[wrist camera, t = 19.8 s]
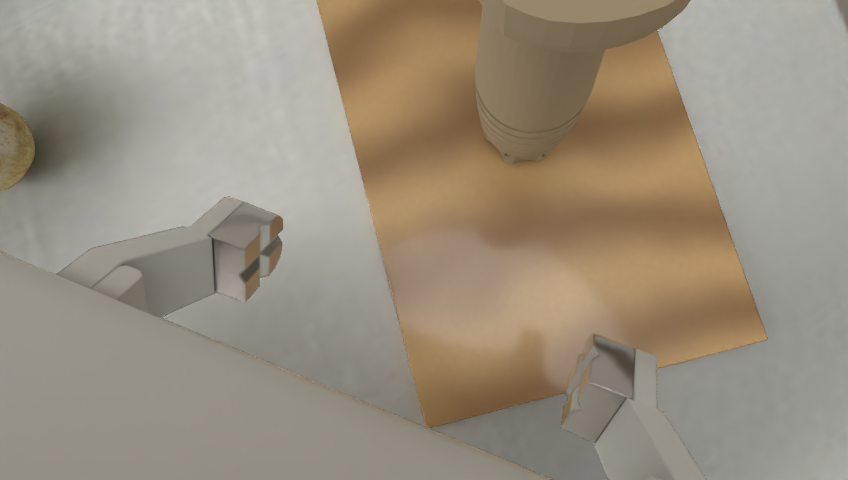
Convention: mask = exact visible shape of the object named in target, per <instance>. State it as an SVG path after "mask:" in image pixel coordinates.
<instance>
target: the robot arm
mask: <svg viewBox="0 0 848 480" xmlns="http://www.w3.org/2000/svg"><path fill="white" fill-rule="evenodd" d="M282 230H283V219H282V218H281V217H280V216H279V215H276V214H274V213H271V212H269V211H266V210H264V209H261V208H259V207H256V206H254V205H251V204H249V203H245V202H243V201H240V200H238V199H235V198H233V197H230V196H228V197H224V198H223V199H222V200H220V201H219V202H218V203H217V204H216V205H215V206H213V207H212V208H211V209H210V210H209V211H208V212H206V213H205V214H204V215H203V216H202V217H201V218H199V219H198V220H197V221H196V222H195V223H194V224H192V225H191V226H190V227H189V228H186V227H183V226H182V227H178V228H174V229H170V230H166V231H162V232H157V233H153V234H149V235H145V236H141V237H137V238H132V239H128V240H124V241H120V242H116V243H112V244H107V245H103V246H99V247H95V248H91V249H89V250H88V251H87V252H85V253H84V254H83V255H81V256H80V257H78V258H77V259H76V260H74V261H73V262H72V263H70V264H69V265H68V266H66V267H65V268H64V269H62V270H61V271H60V272H58V273H57V274H56V275H55V274H53V273H51V272H48V271H46V270H43V269H41V268H38V267H36V266H34V265H31V264H29V263H26V262H24V261H21V260H19V259H17V258H14V257H12V256H9V255H7V254H4V253H2V252H0V480H553V479H551V478H548V477H546V476H543V475H541V474H538V473H536V472H533V471H531V470H529V469H526V468H524V467H521V466H519V465H516V464H514V463H512V462H509V461H507V460H504V459H502V458H499V457H497V456H494V455H492V454H490V453H487V452H485V451H482V450H480V449H478V448H475V447H473V446H470V445H468V444H465V443H463V442H461V441H458V440H456V439H453V438H451V437H449V436H446V435H444V434H441V433H439V432H436V431H434V430H432V429H429V428H427V427H424V426H422V425H419V424H417V423H415V422H412V421H410V420H407V419H405V418H403V417H400V416H398V415H395V414H393V413H390V412H388V411H386V410H383V409H381V408H378V407H376V406H373V405H371V404H369V403H366V402H364V401H361V400H359V399H356V398H354V397H352V396H349V395H347V394H344V393H342V392H339V391H337V390H335V389H332V388H330V387H327V386H325V385H322V384H320V383H318V382H315V381H313V380H310V379H308V378H305V377H303V376H301V375H298V374H296V373H293V372H291V371H288V370H286V369H283V368H281V367H279V366H276V365H274V364H271V363H269V362H267V361H264V360H262V359H259V358H257V357H254V356H252V355H250V354H247V353H245V352H242V351H240V350H237V349H235V348H233V347H230V346H228V345H225V344H223V343H220V342H218V341H216V340H213V339H211V338H208V337H206V336H203V335H201V334H199V333H196V332H194V331H191V330H189V329H186V328H184V327H182V326H179V325H177V324H174V323H172V322H169V321H167V320H165V319H162V318H160V317H162V316H164V315H167V314H169V313H171V312H173V311H176V310H178V309H180V308H183V307H185V306H187V305H189V304H192V303H194V302H196V301H199V300H201V299H203V298H205V297H208V296H210V295H212V294H215V292H217V293H220V294H223V295H225V296H228V297H231V298H234V299H236V300H239V301H242V302H244V303H245V302H246V301H247V300H248V299H249V298H250V297H251V295H252V294H253V293H254V292H255V291H256V290H257V289H258V287H259V282H260V278H263V277H266V276H269V275H270V273H271V272H272V271H273V270H274V269H275V267H276V265H277V263H278V261H279V259H280V255H281V251H282V241H281V240H280V238H279V236H278V234H279V233H280V232H281V231H282ZM566 392H567V394H568V396H569V398H568V400H567V401H566V403H565V405H564V407H563V414H562V421H561V427H560V429H562V430H565V431H567V432H569V433H572V434H574V435H576V436H579V437H581V438H583V439H586V440H588V441H590V442H593V443H595V444H594V446H595V448H596V451H597V453H598V456H599V458H600V461H601V463H602V466H603V468H604V471H605V473H606V476H607V478H608V480H707V479H706V478H705V476H704V474H703V473H702V471H701V470H700V468H699V467H698V465H697V464H696V462H695V460H694V459H693V457H692V456H691V454H690V453H689V451H688V450H687V448H686V446H685V445H684V443H683V442H682V440H681V439H680V437H679V435H678V434H677V432H676V431H675V429H674V428H673V426H672V425H671V423H670V421H669V420H668V418H667V417H666V415H665V414H664V412H663V411H660V410H658V409H657V358H656V356H655V355H654V354H651V353H648V352H645V351H642V350H639V349H637V348H632V347H630V346H627V345H625V344H622V343H619V342H616V341H614V340H611V339H608V338H606V337H603V336H600V335H597V334H595V333H592V334H591V335H590V336H589V338H588V340H587V341H586V343H585V349H584V353H583V354H581V355H578V357H577V359H576V361H575V363H574V365H573V368H572V370H571V373H570V376H569V380H568V384H567V389H566Z"/></svg>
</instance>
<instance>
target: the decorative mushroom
mask: <svg viewBox="0 0 848 480" xmlns="http://www.w3.org/2000/svg"><path fill="white" fill-rule="evenodd" d="M34 155H35V143H34V139H33V135H32V133H31V130H30V128H29V126H28V125H27V123H26V122H25V121H24V119H23V118H22V117H21V116H20V115H19V114H18V113H17V112H15V111H14V110H12V109H11V108H9V107H7V106H5V105H3V104H1V103H0V191H1V190H5V189H8V188H10V187H12V186H13V185H15V184H16V183H17V182H18V181H19V180H20V179H21V178H22V177H23V176H24V175H25V174H26V173H27V172H28V170H29V167H30V166H31V164H32V162H33V159H34Z"/></svg>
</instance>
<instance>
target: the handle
mask: <svg viewBox="0 0 848 480" xmlns="http://www.w3.org/2000/svg"><path fill="white" fill-rule="evenodd" d="M479 1H480V3H481V5H482V15H481V24H480V32H479V41H478V49H477V57H476V65H475V87H476V100H477V106H478V112H479V118H480V121H481V127H482V131H483V135H484V137H485V139H486V140H487V141H489V142H491V143H492V144H493V145H494V146H495V147H496V148H497V149H498V150H499V151H500V153H501V155H502V158H503V161H504V162H506V163H508V164H511V165H514V164H515V163H517V162H519V161H523V160H533V161H536V162H539V161H541V160H543V159H545V158H546V157H547V156H549V155H550V153H551V152H552V148H553V147H555V146H556V145H557V144H558V143H559V142H560V141H561V140H562V139H563V138H564V137H565V136H566V135H567V134H568V132H569V131H570V129H571V128H572V127H573V125H574V124H575V122H576V121H577V119H578V118H579V116H580V114H581V112H582V110H583V108H584V106H585V104H586V102H587V100H588V98H589V96H590V94H591V92H592V89H593V86H594V83H595V80H596V77H597V74H598V70H599V67H600V64H601V61H602V58H603V55H604V52H605V49H609V48H614V47H619V46H623V45H626V44H628V43H631V42H634V41H637V40H639V39H642V38H645V37H647V36H648V35H650V34H651V33H653V32H655V31H656V30H658V29H660V28H661V27H663V26H664V25H666V24H667V23H668V22H669V21H671V20H672V19H673V18H674V17H676V16H677V15H678V14H679V13H681V12H682V11H683V10H684V8H685V7H686V6H687V5H688V3H689V2H690V0H479Z"/></svg>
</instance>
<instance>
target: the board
mask: <svg viewBox="0 0 848 480" xmlns="http://www.w3.org/2000/svg"><path fill="white" fill-rule="evenodd" d="M317 4H318V8H319V12H320V15H321V19H322V23H323V27H324V31H325V35H326V39H327V43H328V47H329V51H330V54H331V58H332V62H333V66H334V70H335V74H336V78H337V82H338V86H339V90H340V93H341V97H342V101H343V105H344V109H345V113H346V117H347V121H348V125H349V129H350V133H351V136H352V140H353V144H354V148H355V152H356V156H357V160H358V164H359V168H360V172H361V175H362V179H363V183H364V187H365V191H366V195H367V199H368V203H369V207H370V211H371V214H372V218H373V222H374V226H375V230H376V234H377V238H378V242H379V246H380V250H381V254H382V257H383V261H384V265H385V269H386V273H387V277H388V281H389V285H390V289H391V293H392V296H393V300H394V304H395V308H396V312H397V316H398V320H399V324H400V328H401V332H402V336H403V339H404V343H405V347H406V351H407V355H408V359H409V363H410V367H411V371H412V375H413V378H414V382H415V386H416V390H417V394H418V398H419V402H420V406H421V410H422V414H423V417H424V421H425V425H426V427H427V428H431V427H435V426H439V425H443V424H447V423H451V422H454V421H458V420H462V419H466V418H470V417H474V416H477V415H481V414H485V413H489V412H493V411H497V410H500V409H504V408H508V407H512V406H516V405H520V404H523V403H527V402H531V401H535V400H539V399H543V398H546V397H550V396H554V395H558V394H562V393H566V389H567V384H568V380H569V376H570V373H571V370H572V368H573V365H574V363H575V361H576V359H577V357H578V355H581V354H583V353H584V349H585V343H586V341H587V340H588V338H589V336H590V335H591V334H592V333H595V334H597V335H600V336H603V337H606V338H608V339H611V340H614V341H616V342H619V343H622V344H625V345H627V346H630V347H632V348H637V349H639V350H642V351H645V352H648V353H651V354H654V355H655V356H656V358H657V369H658V368H662V367H665V366H669V365H673V364H677V363H681V362H685V361H688V360H692V359H696V358H700V357H704V356H708V355H711V354H715V353H719V352H723V351H727V350H731V349H734V348H738V347H742V346H746V345H750V344H754V343H757V342H761V341H765V340H767V335H766V333H765V330H764V327H763V324H762V321H761V319H760V316H759V313H758V310H757V307H756V305H755V302H754V299H753V296H752V294H751V291H750V288H749V285H748V282H747V280H746V277H745V274H744V271H743V268H742V266H741V263H740V260H739V257H738V255H737V252H736V249H735V246H734V243H733V241H732V238H731V235H730V232H729V229H728V227H727V224H726V221H725V218H724V216H723V213H722V210H721V207H720V204H719V202H718V199H717V196H716V193H715V190H714V188H713V185H712V182H711V179H710V177H709V174H708V171H707V168H706V165H705V163H704V160H703V157H702V154H701V151H700V149H699V146H698V143H697V140H696V138H695V135H694V132H693V129H692V126H691V124H690V121H689V118H688V115H687V112H686V110H685V107H684V104H683V101H682V99H681V96H680V93H679V90H678V87H677V85H676V82H675V79H674V76H673V73H672V71H671V68H670V65H669V62H668V60H667V57H666V54H665V51H664V48H663V46H662V43H661V40H660V37H659V34H658V32H657V30H656V31H655V32H653V33H651V34H650V35H648V36H647V37H645V38H642V39H639V40H637V41H634V42H631V43H628V44H626V45H623V46H619V47H614V48H609V49H605V52H604V55H603V58H602V61H601V64H600V67H599V70H598V74H597V77H596V80H595V83H594V86H593V89H592V92H591V94H590V96H589V98H588V100H587V102H586V104H585V106H584V108H583V110H582V112H581V114H580V116H579V118H578V119H577V121H576V122H575V124H574V125H573V127H572V128H571V129H570V131H569V132H568V134H567V135H566V136H565V137H564V138H563V139H562V140H561V141H560V142H559V143H558V144H557V145H556V146H555V147H553V148H552V152H551V153H550V155H549V156H547V157H546V158H545V159H543V160H541V161H539V162H536V161H533V160H523V161H519V162H517V163H515V164H514V165H511V164H508V163H506V162H504V161H503V158H502V155H501V153H500V151H499V150H498V149H497V148H496V147H495V146H494V145H493V144H492V143H491V142H489V141H487V140H486V139H485V137H484V135H483V131H482V127H481V121H480V118H479V112H478V106H477V100H476V87H475V65H476V57H477V49H478V41H479V32H480V24H481V15H482V5H481V3H480V1H479V0H317Z"/></svg>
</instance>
